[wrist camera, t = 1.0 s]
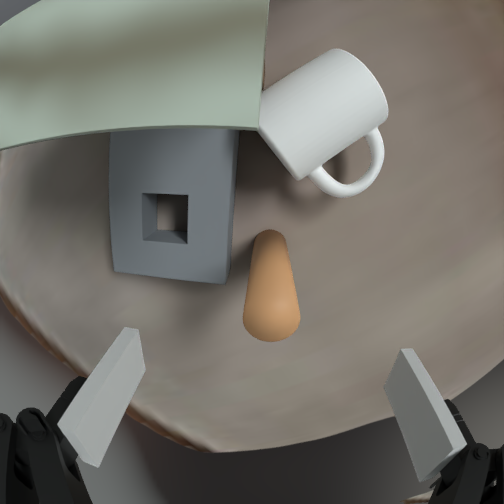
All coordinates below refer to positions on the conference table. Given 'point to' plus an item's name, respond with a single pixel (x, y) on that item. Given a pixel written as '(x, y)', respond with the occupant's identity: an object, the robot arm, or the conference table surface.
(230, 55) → the panel
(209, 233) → the socket board
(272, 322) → the peg
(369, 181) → the mug
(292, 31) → the conference table surface
